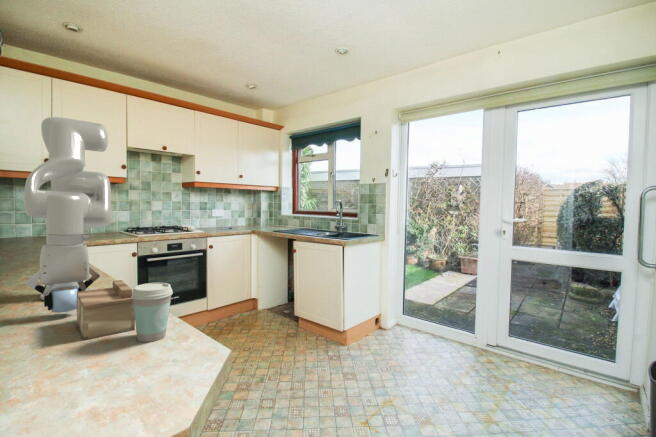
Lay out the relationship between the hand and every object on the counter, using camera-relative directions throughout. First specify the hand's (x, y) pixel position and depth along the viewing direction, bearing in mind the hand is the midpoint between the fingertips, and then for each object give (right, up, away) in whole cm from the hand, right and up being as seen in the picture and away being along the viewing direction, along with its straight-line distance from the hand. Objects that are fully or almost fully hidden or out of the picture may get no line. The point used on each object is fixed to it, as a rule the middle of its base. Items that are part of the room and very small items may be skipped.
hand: (64, 305), depth 85 cm
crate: (+15, -4, -6) cm, 16 cm away
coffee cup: (+29, -5, -11) cm, 32 cm away
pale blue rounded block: (0, -1, 0) cm, 1 cm away
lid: (+15, +3, -6) cm, 17 cm away
